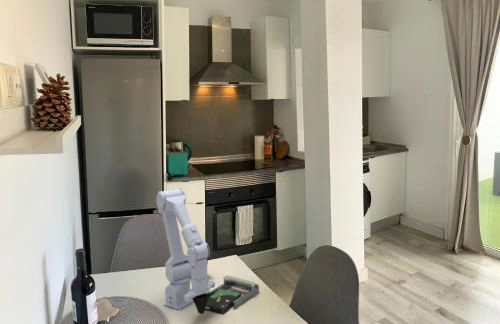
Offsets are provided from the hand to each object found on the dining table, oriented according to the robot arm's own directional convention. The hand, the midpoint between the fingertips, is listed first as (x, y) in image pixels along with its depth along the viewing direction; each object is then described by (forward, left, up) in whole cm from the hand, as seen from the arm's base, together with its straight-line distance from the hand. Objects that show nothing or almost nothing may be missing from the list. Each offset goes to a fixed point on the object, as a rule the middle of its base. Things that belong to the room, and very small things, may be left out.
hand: (201, 312), depth 148 cm
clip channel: (+19, 0, -1) cm, 19 cm away
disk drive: (+12, 0, -2) cm, 12 cm away
